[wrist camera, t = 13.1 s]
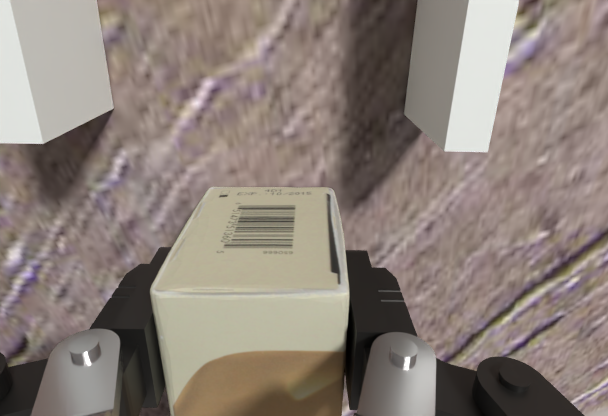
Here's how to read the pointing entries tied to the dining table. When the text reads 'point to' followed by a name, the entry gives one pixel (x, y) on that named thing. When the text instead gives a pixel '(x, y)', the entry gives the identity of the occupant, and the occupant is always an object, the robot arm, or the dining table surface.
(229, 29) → the dining table surface
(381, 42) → the dining table surface
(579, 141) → the dining table surface
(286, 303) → the skincare box
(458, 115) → the twin rod panel frame
